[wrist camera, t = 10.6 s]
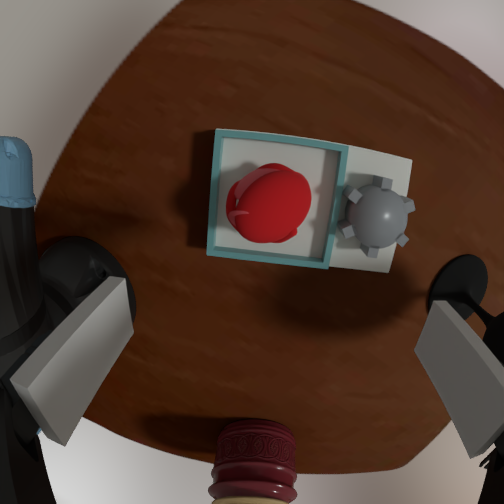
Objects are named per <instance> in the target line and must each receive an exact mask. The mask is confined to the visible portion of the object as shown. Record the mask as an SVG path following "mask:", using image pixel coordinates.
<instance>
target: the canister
mask: <svg viewBox="0 0 504 504" xmlns="http://www.w3.org/2000/svg"><path fill="white" fill-rule="evenodd" d="M295 450H296V442H295V439H294V436H293V433H292V432H291V430H290V429H288V428H287V427H285V426H284V425H281V424H279V423H276V422H273V421H268V420H260V419H248V420H241V421H236V422H233V423H231V424H228V425H227V426H225V427H224V428H223V429H222V430H221V432H220V435H219V436H218V439H217V451H216V456H215V462H214V467H213V469H212V472H211V475H212V478H213V484H212V485H211V486H210V487H209V488H208V492H209V494H210V495H211V496H212V497H213V498H214V499H215V500H214V501H213V502H212V504H289V503H290V502H292V501H293V500H295V499H296V497H297V492H296V490H295V489H294V488H293V485H294V482H295V481H296V479H297V474H296V473H295Z"/></svg>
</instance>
